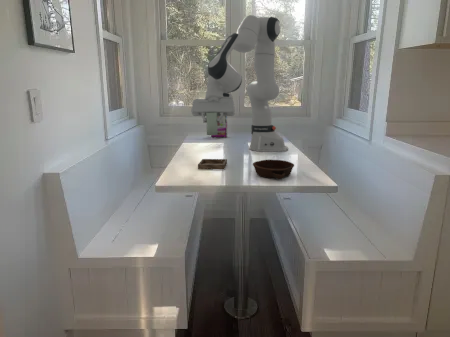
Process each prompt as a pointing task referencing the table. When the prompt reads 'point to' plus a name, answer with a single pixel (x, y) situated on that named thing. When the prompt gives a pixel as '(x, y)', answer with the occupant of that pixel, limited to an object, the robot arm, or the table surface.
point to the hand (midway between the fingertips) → (211, 121)
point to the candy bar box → (221, 127)
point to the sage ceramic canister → (211, 123)
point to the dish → (273, 168)
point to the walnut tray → (212, 164)
